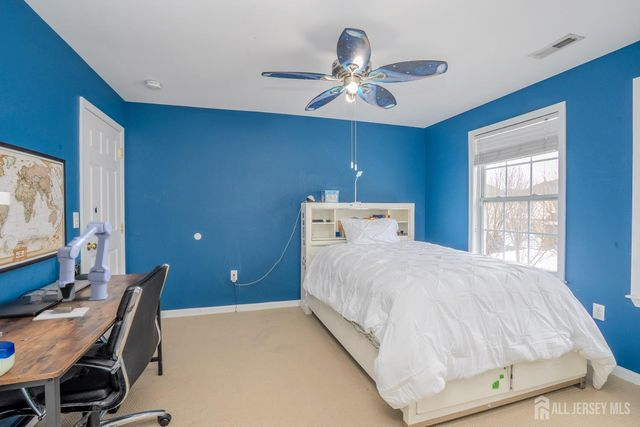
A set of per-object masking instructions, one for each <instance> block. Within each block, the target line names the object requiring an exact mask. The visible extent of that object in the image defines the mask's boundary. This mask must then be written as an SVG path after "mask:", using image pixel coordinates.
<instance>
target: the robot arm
mask: <svg viewBox="0 0 640 427" xmlns="http://www.w3.org/2000/svg"><path fill="white" fill-rule="evenodd" d="M112 229H113V225H112V224H111V222H110V221H95V220H90V222H88V224H86V228H85V230H84V231H83V232H82V233H81V235H80V236H75V237H73V239H72V240H71V241H70V242H69V243H68V244H66V245H65V246H62V247H61V248H59V249H58V250H57V253H56V256H57V258H58V262H59V279H57V280H56V281H55V282H56V283H58V286H57V287H58V288H59V289H60V291H61V293H62V297H63V299H69V297H70V294H71V291H72V288H73V286H76V281H75V280H76V279H75V270H76V268H75V267H76V258H78V257H79V253H80V252H81V249H82V248H84V246H86V244H87V240H89V239H90V238H91V237H92V236H96V237H97V239H98V240H97V244H96V252H95V253H96V254H95V262H94V265H93V266H92V267H90V268H89V272H88V274H87V278H86V279H87V281H88V282H89V284H90V297H89V299H88V301H98V300H99V301H100V300H101V301H102V300H106V299H107V298H108V297H109V294H108V283H109V281H110V280H111V277H112V273H111V268H110V267H108V266H107V262H108V261H107V260H108V252H109V244H110V237H111V236H112V232H113V231H112ZM58 288H57V289H58Z"/></svg>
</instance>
